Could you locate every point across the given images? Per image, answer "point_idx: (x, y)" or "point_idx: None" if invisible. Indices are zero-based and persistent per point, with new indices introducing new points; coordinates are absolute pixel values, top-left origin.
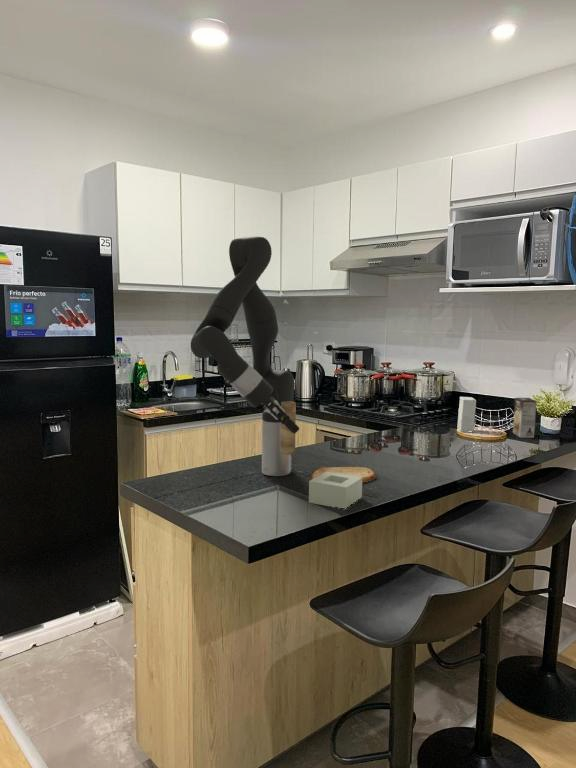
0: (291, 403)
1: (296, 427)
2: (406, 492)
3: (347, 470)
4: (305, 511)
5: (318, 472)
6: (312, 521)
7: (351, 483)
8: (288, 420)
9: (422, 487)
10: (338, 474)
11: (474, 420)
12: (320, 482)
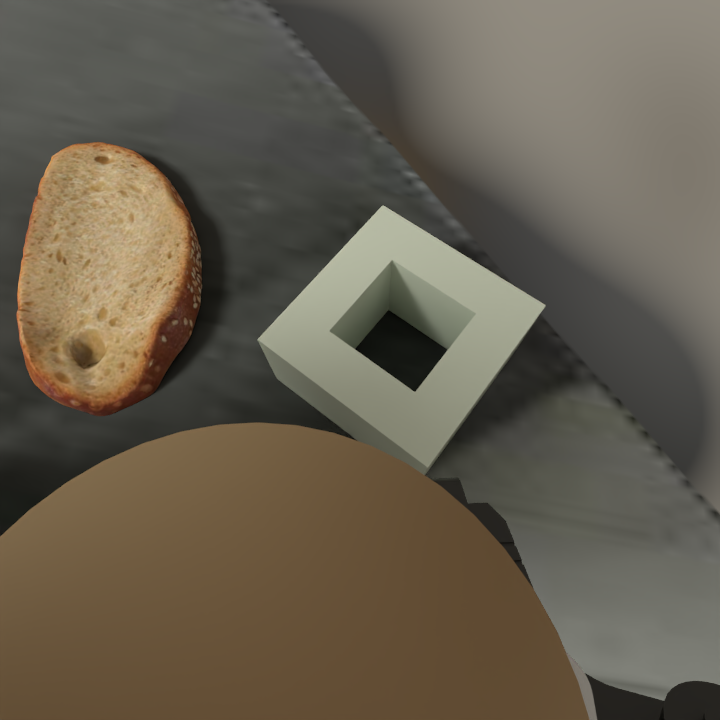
0: (519, 663)
1: (504, 524)
2: (328, 109)
3: (63, 231)
4: (541, 524)
5: (53, 362)
6: (669, 516)
7: (478, 269)
8: (658, 713)
9: (281, 54)
10: (320, 294)
11: None
12: (459, 411)
